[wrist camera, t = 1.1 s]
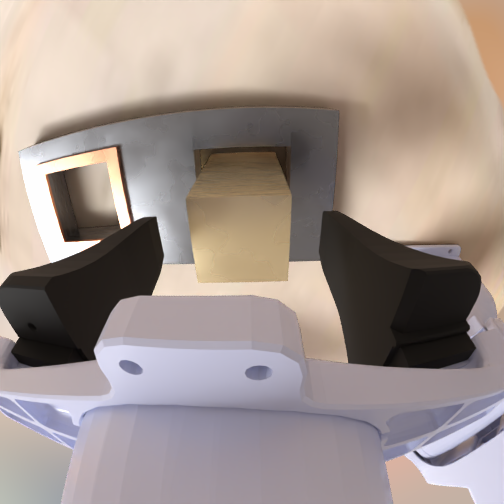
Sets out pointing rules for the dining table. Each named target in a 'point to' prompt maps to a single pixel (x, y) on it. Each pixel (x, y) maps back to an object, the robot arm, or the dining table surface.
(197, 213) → the brass peg
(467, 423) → the robot arm
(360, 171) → the dining table surface
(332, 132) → the socket rail
